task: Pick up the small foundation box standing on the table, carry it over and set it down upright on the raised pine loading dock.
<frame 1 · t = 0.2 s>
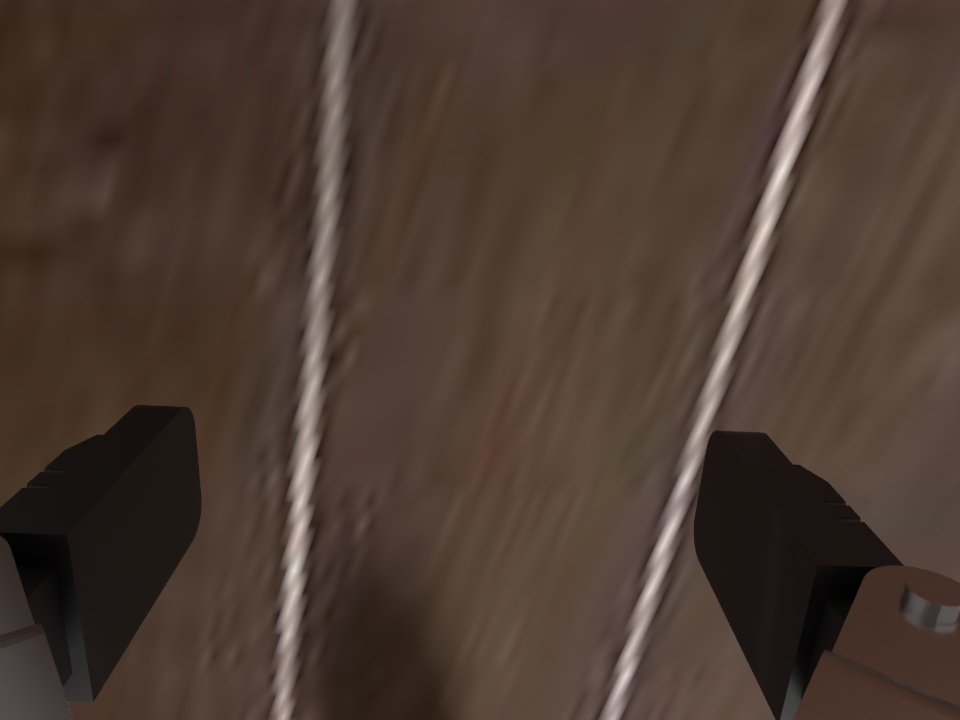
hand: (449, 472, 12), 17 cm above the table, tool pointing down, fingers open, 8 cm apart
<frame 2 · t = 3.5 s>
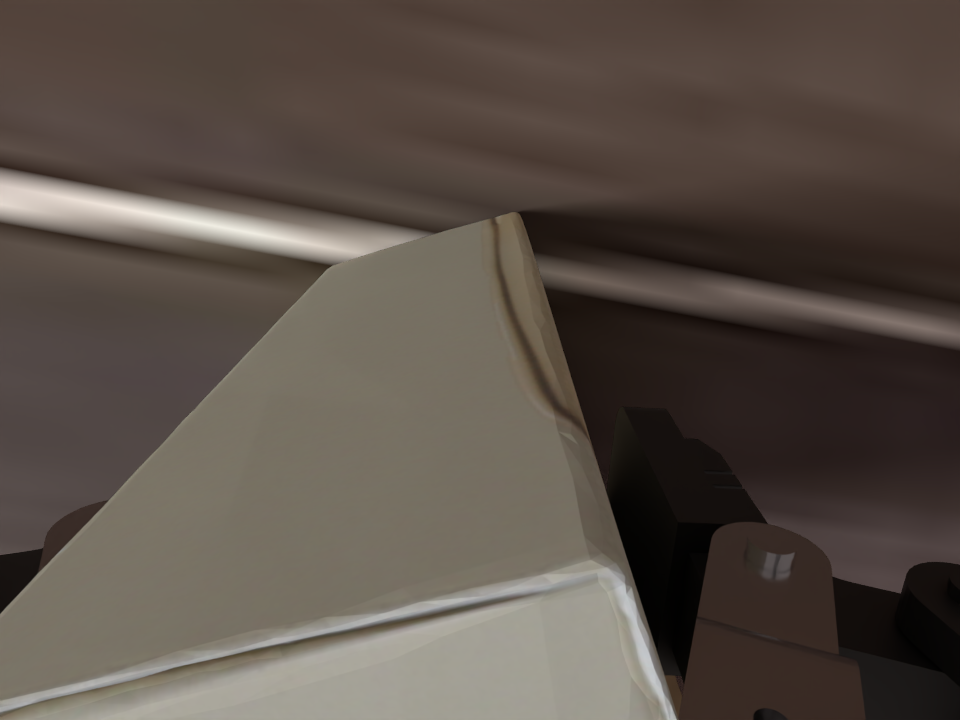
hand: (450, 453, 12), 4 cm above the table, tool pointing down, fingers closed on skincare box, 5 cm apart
skincare box: (457, 365, 16), on the table, touching gripper
when the fingers open (9 cm above the table, at t = 8.0 s): skincare box drops 1 cm, resting on dock.
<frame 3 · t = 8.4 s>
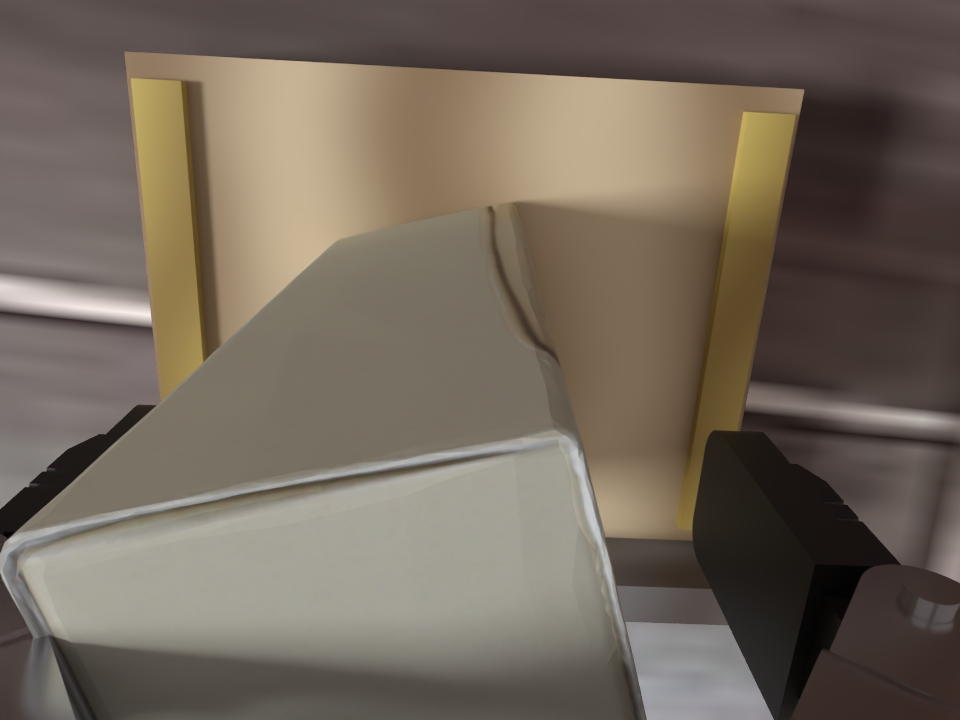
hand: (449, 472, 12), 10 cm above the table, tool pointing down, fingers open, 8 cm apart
dock: (459, 300, 21), on the table
skincare box: (447, 340, 18), point 4 cm above the table, touching dock
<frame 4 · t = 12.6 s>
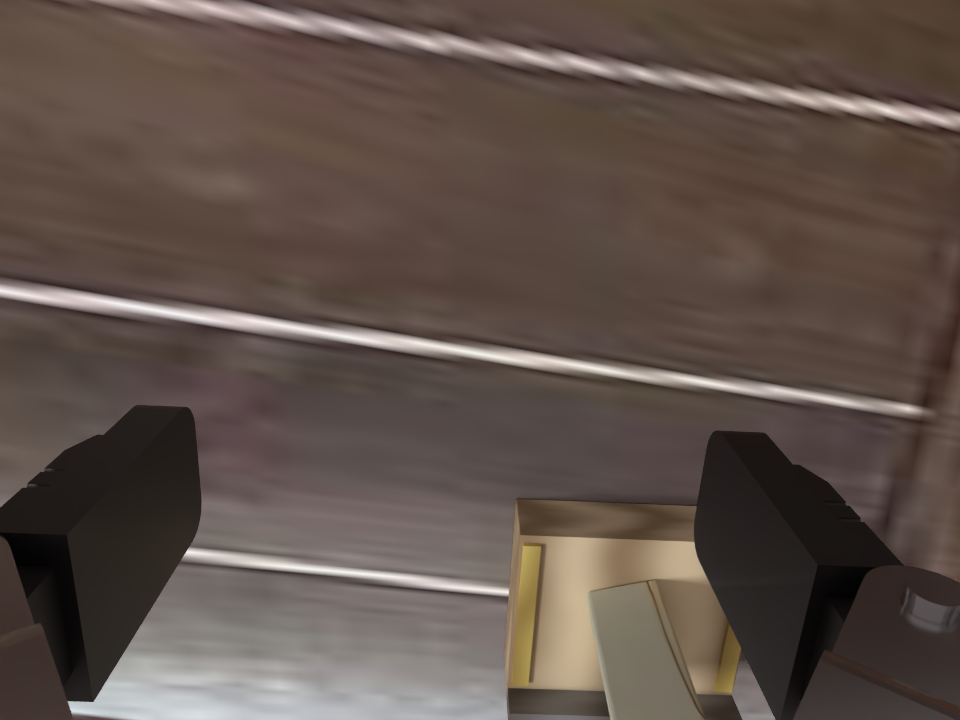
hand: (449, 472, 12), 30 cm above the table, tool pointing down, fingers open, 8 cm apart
dock: (617, 584, 48), on the table
skincare box: (625, 622, 45), point 4 cm above the table, touching dock
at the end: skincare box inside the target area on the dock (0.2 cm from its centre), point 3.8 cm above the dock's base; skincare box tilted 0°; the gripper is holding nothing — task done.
